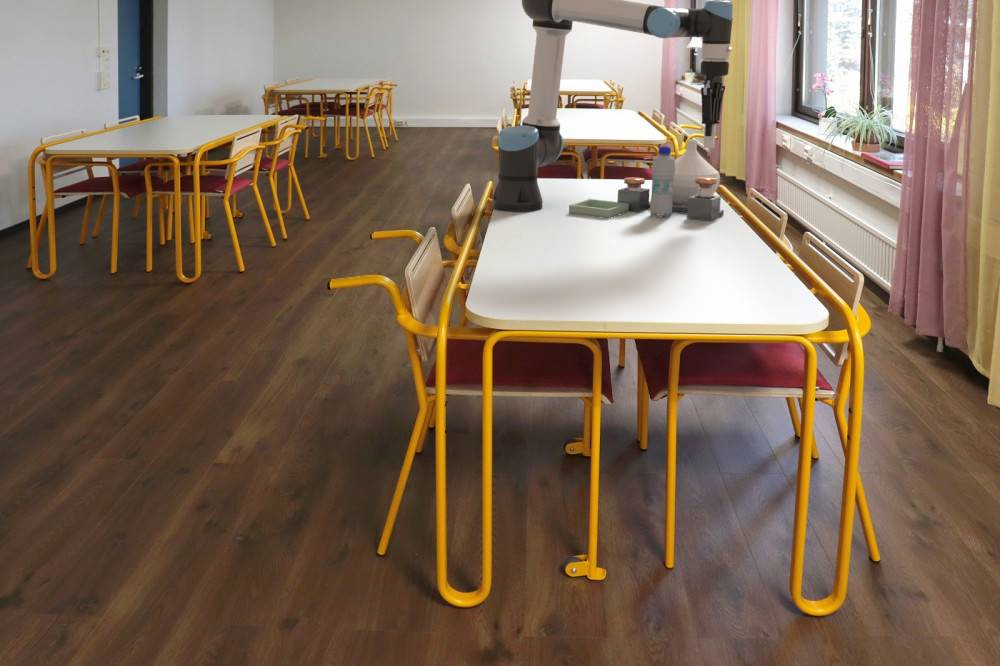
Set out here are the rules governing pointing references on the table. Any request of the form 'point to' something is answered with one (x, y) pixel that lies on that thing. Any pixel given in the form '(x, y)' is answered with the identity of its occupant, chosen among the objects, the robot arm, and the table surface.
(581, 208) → the tray
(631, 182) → the plunger left
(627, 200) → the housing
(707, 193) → the plunger right
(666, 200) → the bottle
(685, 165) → the vase
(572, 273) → the table surface
